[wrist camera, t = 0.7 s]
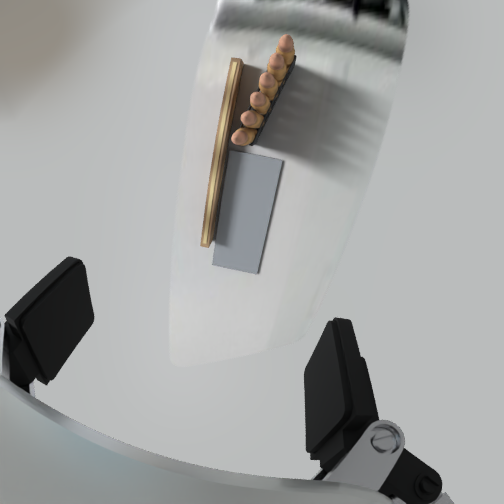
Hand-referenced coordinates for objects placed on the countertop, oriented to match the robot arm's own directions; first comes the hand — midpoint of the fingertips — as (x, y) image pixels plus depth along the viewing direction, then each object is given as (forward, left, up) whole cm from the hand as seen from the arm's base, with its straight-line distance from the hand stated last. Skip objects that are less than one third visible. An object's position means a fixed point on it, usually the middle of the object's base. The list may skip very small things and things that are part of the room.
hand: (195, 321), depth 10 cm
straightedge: (-3, -4, -25) cm, 25 cm away
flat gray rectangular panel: (+4, 0, -25) cm, 25 cm away
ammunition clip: (-10, 0, -25) cm, 27 cm away
